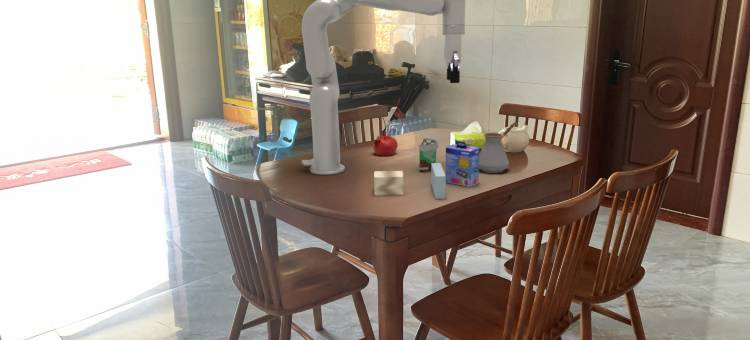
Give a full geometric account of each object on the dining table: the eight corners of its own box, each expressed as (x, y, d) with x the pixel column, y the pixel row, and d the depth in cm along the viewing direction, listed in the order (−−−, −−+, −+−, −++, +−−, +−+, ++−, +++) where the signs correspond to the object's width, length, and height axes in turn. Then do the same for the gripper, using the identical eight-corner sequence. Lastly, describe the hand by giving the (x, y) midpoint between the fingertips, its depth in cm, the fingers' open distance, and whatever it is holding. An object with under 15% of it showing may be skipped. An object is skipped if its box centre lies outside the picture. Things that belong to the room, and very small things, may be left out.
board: (435, 198, 175) (435, 176, 173) (431, 183, 190) (431, 163, 189) (445, 198, 175) (445, 176, 173) (440, 183, 190) (440, 162, 188)
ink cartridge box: (444, 182, 191) (444, 139, 187) (453, 179, 195) (453, 136, 191) (470, 187, 185) (471, 143, 181) (479, 183, 189) (480, 140, 185)
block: (374, 195, 180) (374, 177, 178) (374, 189, 186) (374, 171, 185) (403, 195, 179) (403, 176, 178) (402, 188, 186) (402, 170, 185)
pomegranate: (398, 151, 236) (398, 129, 234) (396, 157, 227) (396, 134, 224) (374, 151, 237) (374, 128, 235) (371, 156, 228) (371, 133, 226)
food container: (436, 173, 202) (436, 145, 200) (419, 173, 203) (419, 145, 201) (440, 164, 214) (440, 138, 211) (423, 164, 215) (423, 137, 212)
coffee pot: (498, 176, 197) (499, 133, 193) (469, 171, 204) (470, 129, 200) (528, 164, 212) (530, 123, 208) (500, 159, 219) (502, 120, 216)
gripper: (439, 30, 204) (439, 78, 209) (445, 31, 188) (444, 84, 192) (461, 29, 204) (460, 78, 209) (468, 31, 187) (467, 84, 192)
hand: (453, 81), depth 200 cm, fingers open, 9 cm apart
